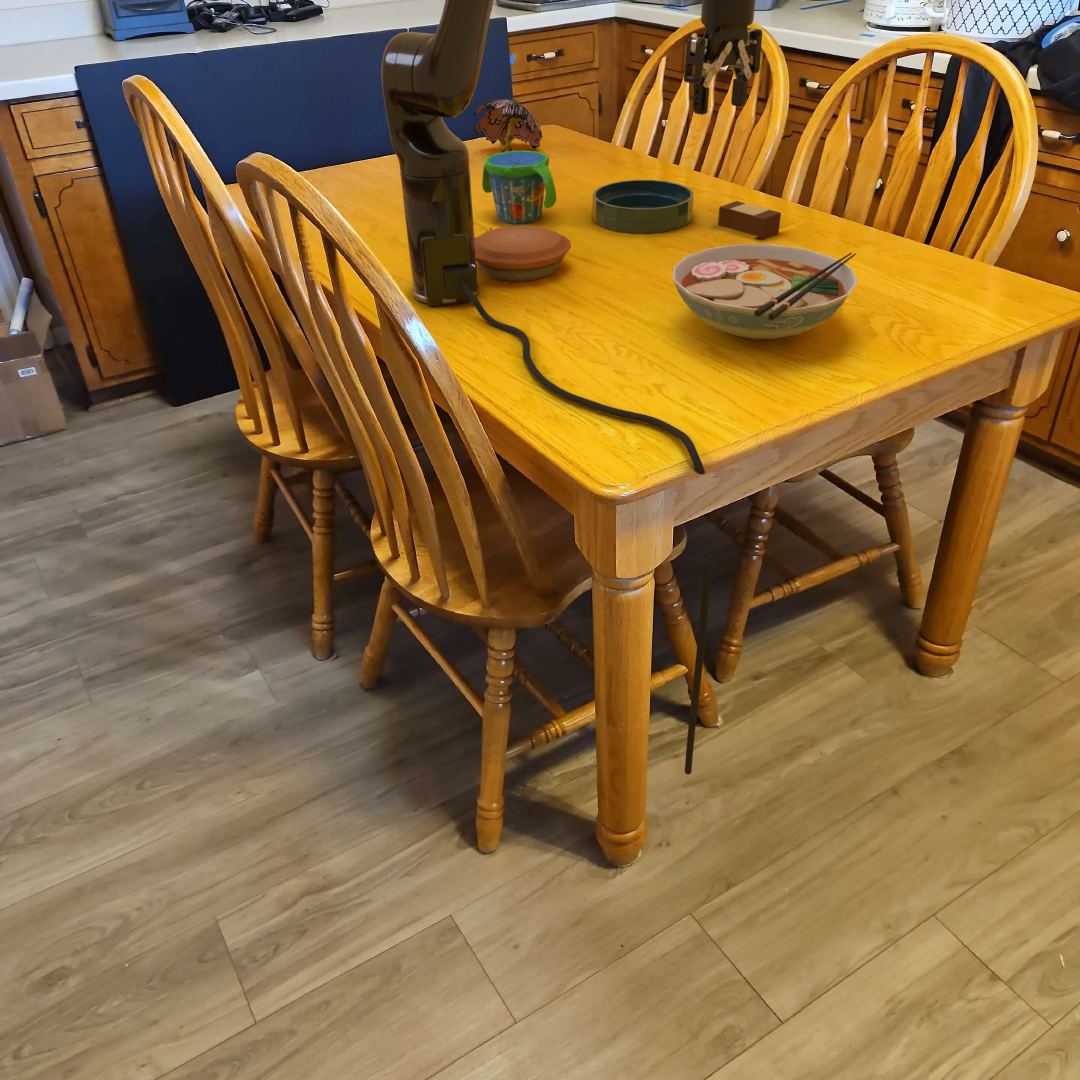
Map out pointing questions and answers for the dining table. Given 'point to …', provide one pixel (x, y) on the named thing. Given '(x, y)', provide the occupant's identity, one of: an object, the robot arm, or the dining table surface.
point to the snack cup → (519, 185)
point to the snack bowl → (642, 206)
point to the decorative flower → (508, 123)
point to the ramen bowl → (763, 288)
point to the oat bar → (750, 219)
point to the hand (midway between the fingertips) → (719, 109)
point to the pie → (520, 252)
